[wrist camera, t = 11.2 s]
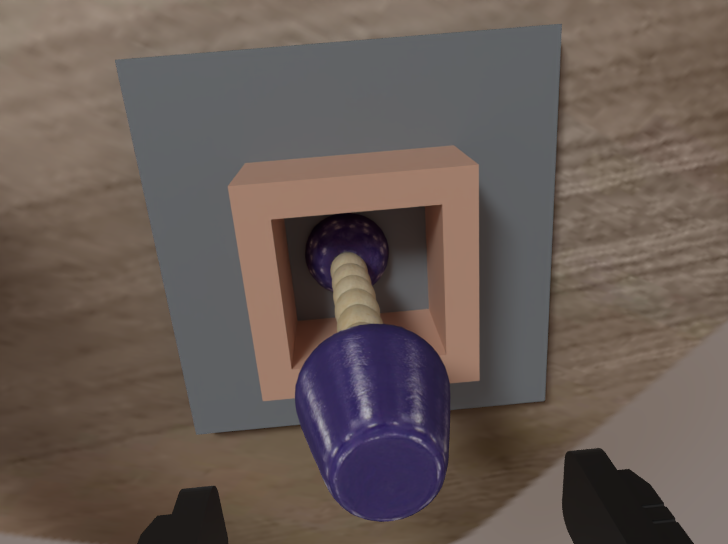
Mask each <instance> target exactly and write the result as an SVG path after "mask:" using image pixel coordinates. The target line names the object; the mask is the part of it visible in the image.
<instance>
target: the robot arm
mask: <svg viewBox="0 0 728 544" xmlns="http://www.w3.org/2000/svg"><path fill="white" fill-rule="evenodd" d="M562 510H563V516H564V521H565V524H566V527H567V530H568V532H569V535H570V537H571V539H572V541H573V543H574V544H694V543H693V542H692V541H691V539H690V538H689V536H688V535H687V534H686V532H685V531H684V530H683V528H682V527H681V526H680V524H679V523H678V522H676V521H675V517H674V516H673V515H672V513H671V512H670V511H669V509H668V508H667V507H665V506H664V503H663V501H662V500H661V498H660V497H659V496H658V494H657V493H656V492H655V490H654V489H653V488H652V486H651V485H650V484H649V483H647V482H646V481H645V480H643V479H642V478H641V477H639V476H638V475H637V474H635V473H634V472H632V471H631V470H630V469H625V470H617V469H616V468H615V466H614V465H613V463H612V462H611V460H610V459H609V458H608V456H607V455H606V453H605V452H604V451H603V450H602V449H600V448H596V449H586V450H576V451H568V452H567V453H566V455H565V464H564V480H563V497H562ZM137 544H228V537H227V532H226V527H225V522H224V517H223V513H222V508H221V503H220V499H219V494H218V490H217V488H216V486H207V487H197V488H187V489H182V490H181V491H180V492H179V495H178V498H177V500H176V503H175V506H174V509H173V512H172V514H170V515H160V516H157V517H156V518H155V519H154V520H153V521H152V522H151V524H150V525H149V526H148V527H147V528H146V529H145V531H144V532H143V533H142V534H141V536H140V538H139V541H138V543H137Z"/></svg>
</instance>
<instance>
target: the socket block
mask: <svg viewBox="0 0 728 544" xmlns="http://www.w3.org/2000/svg"><path fill="white" fill-rule="evenodd" d="M561 31H562V24H554V25H542V26H529V27H517V28H505V29H492V30H480V31H467V32H455V33H443V34H430V35H418V36H405V37H393V38H381V39H368V40H356V41H344V42H331V43H319V44H306V45H294V46H282V47H269V48H257V49H244V50H232V51H220V52H207V53H195V54H183V55H170V56H158V57H145V58H133V59H121V60H115V63H116V67H117V72H118V77H119V81H120V86H121V90H122V95H123V100H124V104H125V109H126V113H127V118H128V123H129V127H130V132H131V136H132V141H133V145H134V150H135V155H136V159H137V164H138V168H139V173H140V178H141V182H142V187H143V191H144V196H145V201H146V205H147V210H148V214H149V219H150V224H151V228H152V233H153V237H154V242H155V246H156V251H157V256H158V260H159V265H160V269H161V274H162V279H163V283H164V288H165V292H166V297H167V302H168V306H169V311H170V315H171V320H172V325H173V329H174V334H175V338H176V343H177V348H178V352H179V357H180V361H181V366H182V370H183V375H184V380H185V384H186V389H187V393H188V398H189V403H190V407H191V412H192V416H193V421H194V426H195V430H196V435H197V434H207V433H217V432H228V431H238V430H248V429H259V428H269V427H280V426H290V425H300V422H299V419H298V416H297V413H296V406H295V385H296V382H297V379H298V375H299V372H300V370H301V368H302V366H303V364H304V362H305V361H306V359H307V358H308V357H309V356H310V354H311V353H312V351H313V350H314V349H315V348H316V347H317V346H318V345H319V344H320V343H322V342H323V341H324V340H325V339H327V338H329V337H330V336H332V335H333V334H335V333H337V321H336V317H335V304H334V300H333V292H331V291H329V290H327V289H325V288H323V287H322V286H321V285H319V284H318V282H317V281H316V280H315V279H314V278H313V277H312V275H311V274H310V272H309V269H308V267H307V264H306V259H305V249H306V243H307V240H308V237H309V235H310V233H311V231H312V230H313V228H314V227H315V226H316V225H317V224H319V223H320V222H321V221H322V220H324V219H325V218H327V217H329V216H332V215H335V214H340V213H355V214H359V215H363V216H365V217H367V218H369V219H371V220H372V221H374V222H375V223H376V224H377V225H378V226H379V227H380V228H381V229H382V231H383V233H384V235H385V237H386V239H387V242H388V247H389V258H388V263H387V266H386V269H385V271H384V273H383V274H382V276H381V277H380V279H379V280H378V281H377V282H376V283H375V284H374V285H373V286H372V287H373V289H374V291H375V294H376V301H377V302H378V305H379V308H380V317H381V319H382V322H383V324H389V325H395V326H400V327H403V328H405V329H406V330H409V331H412V332H414V333H415V334H417V335H418V336H420V337H421V338H423V339H424V340H425V341H427V342H428V343H429V344H430V345H431V346H432V347H433V348H434V350H435V351H436V352H437V353H438V355H439V356H440V358H441V360H442V362H443V364H444V365H445V368H446V371H447V374H448V377H449V382H450V397H451V398H450V410H456V409H466V408H477V407H487V406H497V405H508V404H518V403H528V402H539V401H545V389H546V366H547V344H548V321H549V299H550V277H551V254H552V232H553V210H554V187H555V165H556V143H557V120H558V98H559V75H560V53H561Z"/></svg>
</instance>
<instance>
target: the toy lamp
mask: <svg viewBox="0 0 728 544" xmlns="http://www.w3.org/2000/svg"><path fill="white" fill-rule="evenodd" d="M388 258H389V247H388V242H387V239H386V237H385V235H384V233H383V231H382V229H381V228H380V227H379V226H378V225H377V224H376V223H375V222H374V221H372V220H371V219H369V218H367V217H365V216H363V215H359V214H355V213H340V214H335V215H332V216H329V217H327V218H325V219H324V220H322V221H321V222H320V223H319V224H317V225H316V226H315V227H314V228H313V230H312V231H311V233H310V235H309V237H308V240H307V243H306V249H305V259H306V264H307V267H308V269H309V272H310V274H311V275H312V277H313V278H314V279H315V280H316V281H317V282H318V284H319V285H321V286H322V287H323V288H325V289H327V290H329V291H331V292H333V300H334V304H335V317H336V321H337V333H335V334H333V335H332V336H330V337H329V338H327V339H325V340H324V341H323V342H322V343H320V344H319V345H318V346H317V347H316V348H315V349H314V350H313V351H312V353H311V354H310V356H309V357H308V358H307V359H306V361H305V362H304V364H303V366H302V368H301V370H300V372H299V375H298V379H297V382H296V385H295V406H296V413H297V416H298V419H299V422H300V425H301V428H302V430H303V433H304V435H305V438H306V440H307V443H308V445H309V447H310V450H311V452H312V455H313V457H314V459H315V461H316V463H317V466H318V468H319V470H320V473H321V475H322V478H323V480H324V482H325V484H326V486H327V488H328V490H329V492H330V493H331V495H332V496H333V498H334V499H335V500H336V501H337V502H338V503H339V504H340V505H341V507H343V508H344V509H345V510H347V511H348V512H350V513H351V514H353V515H355V516H358V517H361V518H364V519H367V520H372V521H379V522H383V521H394V520H399V519H403V518H406V517H409V516H411V515H413V514H415V513H417V512H419V511H420V510H422V509H423V508H424V507H426V506H427V505H428V504H429V503H430V502H432V500H433V499H434V498H435V497H436V495H437V494H438V492H439V491H440V489H441V488H442V485H443V482H444V479H445V475H446V471H447V466H448V458H449V434H450V398H451V397H450V382H449V377H448V374H447V371H446V368H445V365H444V364H443V362H442V360H441V358H440V356H439V355H438V353H437V352H436V351H435V350H434V348H433V347H432V346H431V345H430V344H429V343H428V342H427V341H425V340H424V339H423V338H421V337H420V336H418V335H417V334H415V333H414V332H412V331H409V330H406V329H405V328H403V327H400V326H395V325H389V324H383V322H382V319H381V317H380V308H379V305H378V302H377V301H376V294H375V291H374V289H373V287H372V286H373V285H374V284H375V283H376V282H377V281H378V280H379V279H380V277H381V276H382V274H383V273H384V271H385V269H386V266H387V263H388Z"/></svg>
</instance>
